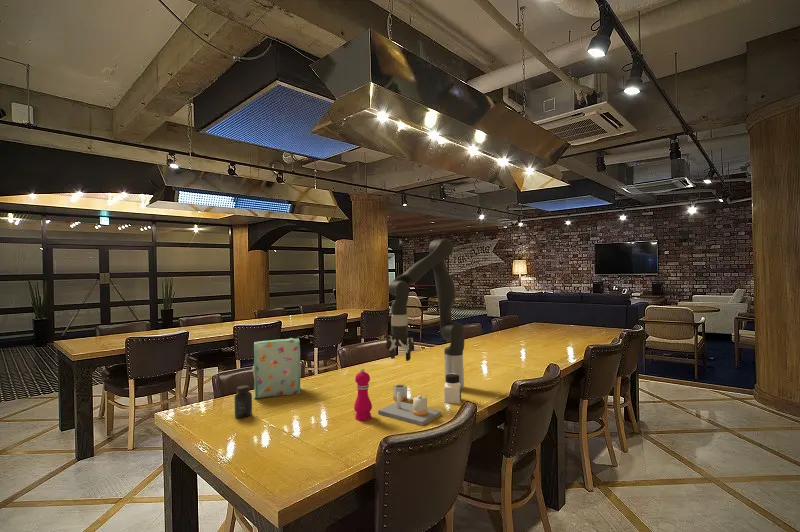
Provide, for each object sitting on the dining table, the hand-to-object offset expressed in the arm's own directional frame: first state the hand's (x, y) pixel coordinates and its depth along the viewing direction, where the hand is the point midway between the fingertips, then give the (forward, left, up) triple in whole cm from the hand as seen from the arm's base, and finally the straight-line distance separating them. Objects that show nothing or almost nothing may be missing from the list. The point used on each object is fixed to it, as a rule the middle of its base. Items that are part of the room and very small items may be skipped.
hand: (400, 359), depth 179 cm
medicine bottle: (-13, +19, -19) cm, 30 cm away
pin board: (+12, +13, -19) cm, 26 cm away
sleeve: (-1, -2, -19) cm, 19 cm away
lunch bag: (+26, -58, -19) cm, 66 cm away
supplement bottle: (+53, -43, -19) cm, 70 cm away
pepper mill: (+26, 0, -19) cm, 32 cm away
